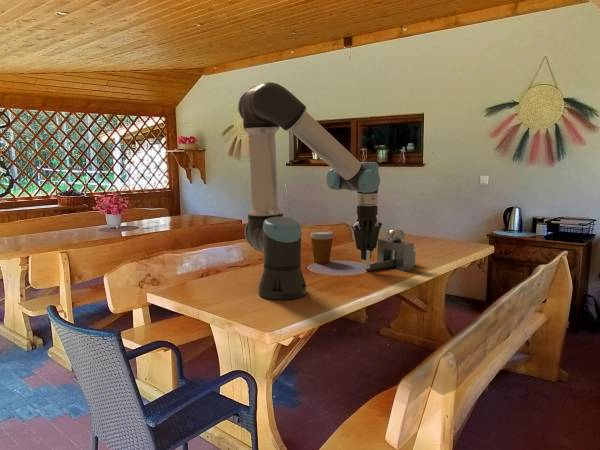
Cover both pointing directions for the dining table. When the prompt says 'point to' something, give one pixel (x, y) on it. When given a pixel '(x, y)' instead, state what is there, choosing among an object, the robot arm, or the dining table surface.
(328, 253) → the disposable coffee cup
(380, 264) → the mallet
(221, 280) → the dining table surface
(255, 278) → the dining table surface
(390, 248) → the housing
